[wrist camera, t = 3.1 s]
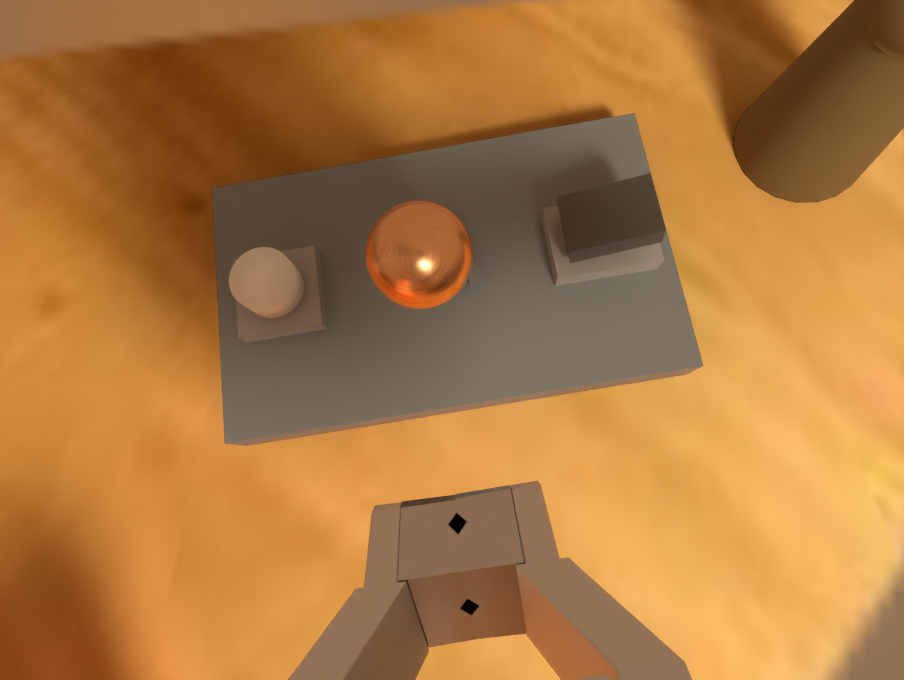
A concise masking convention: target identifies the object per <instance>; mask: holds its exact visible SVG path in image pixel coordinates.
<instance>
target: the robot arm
mask: <svg viewBox="0 0 904 680" xmlns="http://www.w3.org/2000/svg"><path fill="white" fill-rule="evenodd" d="M526 633H527V636H528V638H529V639H530V640H531V641H532V643H533V644H534V645H535V647H536V648H537V649H538V650H539V652H540V653H541V654H542V656H543V657H544V658H545V659H546V661H547V662H548V663H549V664H550V666H551V667H552V668H553V670H554V671H555V672H556V673H557V675H558V676H559V677H560V678H561V680H692V678H691V676H690V674H689V671H688V669H687V666H686V664H685V662H684V661H683V660H682V659H681V658H680V657H679V656H678V655H677V654H675V653H674V652H673V651H672V650H671V649H670V648H669V647H668V646H667V645H665V644H664V643H663V642H662V641H661V640H660V639H659V638H658V637H656V636H655V635H654V634H653V633H652V632H651V631H650V630H649V629H648V628H646V627H645V626H644V625H643V624H642V623H641V622H640V621H639V620H638V619H636V618H635V617H634V616H633V615H632V614H631V613H630V612H629V611H627V610H626V609H625V608H624V607H623V606H622V605H621V604H620V603H619V602H617V601H616V600H615V599H614V598H613V597H612V596H611V595H610V594H609V593H607V592H606V591H605V590H604V589H603V588H602V587H601V586H600V585H598V584H597V583H596V582H595V581H594V580H593V579H592V578H591V577H590V576H588V575H587V574H586V573H585V572H584V571H583V570H582V569H581V568H580V567H578V566H577V565H576V564H575V563H574V562H573V561H572V560H571V559H569V558H559V554H558V551H557V547H556V543H555V539H554V535H553V531H552V527H551V523H550V519H549V516H548V512H547V508H546V504H545V500H544V496H543V492H542V488H541V485H540V483H539V482H538V481H534V482H528V483H521V484H515V485H511V488H510V485H508V486H502V487H496V488H490V489H484V490H478V491H472V492H466V493H460V494H456V495H450V496H442V497H435V498H427V499H419V500H411V501H403V502H399V503H391V504H384V505H376V506H375V507H374V509H373V511H372V514H371V524H370V534H369V543H368V553H367V563H366V572H365V582H364V587H363V588H357V589H355V590H354V592H353V593H352V594H351V596H350V597H349V598H348V600H347V601H346V602H345V604H344V605H343V606H342V608H341V609H340V610H339V612H338V613H337V615H336V616H335V617H334V619H333V620H332V621H331V623H330V624H329V625H328V627H327V628H326V629H325V631H324V632H323V633H322V635H321V636H320V637H319V639H318V640H317V642H316V643H315V644H314V646H313V647H312V648H311V650H310V651H309V652H308V654H307V655H306V656H305V658H304V659H303V660H302V662H301V663H300V665H299V666H298V667H297V669H296V670H295V671H294V673H293V674H292V675H291V677H290V678H289V679H288V680H415V679H416V677H417V675H418V673H419V671H420V669H421V667H422V664H423V662H424V660H425V658H426V656H427V654H428V652H429V649H428V647H434V646H439V645H445V644H451V643H457V642H463V641H469V640H474V639H482V638H491V637H500V636H508V635H517V634H526Z"/></svg>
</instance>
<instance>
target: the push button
mask: <svg viewBox="0 0 904 680" xmlns="http://www.w3.org/2000/svg"><path fill="white" fill-rule="evenodd" d="M229 287H230V291H231V293H232V295H233V297H234V298H235V299H236V300H237V301H238V302H239V303H240V304H242V305H243V306H245V307H246V308H248V309H249V310H251V311H252V312H254V313H255V314H257V315H259V316H261V317H264V318H278V317H282V316H284V315H286V314H288V313H290V312H291V311H292V310H294V309H295V308H296V306H297V305H298V304H299V302H300V301H301V299H302V296H303V293H304V279H303V276H302V274H301V272H300V271H299V270H298V269H297V267H296V266H295V265H294V264H293V263H292V262H291V261H290V260H289V259H288V258H287V257H286V256H285V255H284V254H283V253H282V252H280V251H279V250H276V249H274V248H270V247H258V248H254V249H251V250H249V251H247V252H246V253H244V254H243V255H241V256H240V257H239V258H238V259H237V261H236V262H235V263H234V265H233V267H232V269H231V271H230V275H229Z"/></svg>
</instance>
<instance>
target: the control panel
mask: <svg viewBox="0 0 904 680" xmlns="http://www.w3.org/2000/svg"><path fill="white" fill-rule="evenodd" d="M649 173H651V172H650V169H649V165H648V161H647V158H646V154H645V150H644V147H643V143H642V139H641V136H640V132H639V128H638V125H637V121H636V117H635V114H634V113H632V114H626V115H621V116H615V117H610V118H604V119H598V120H593V121H587V122H582V123H576V124H570V125H565V126H559V127H553V128H548V129H542V130H537V131H531V132H525V133H520V134H514V135H508V136H503V137H497V138H492V139H486V140H480V141H475V142H469V143H463V144H458V145H452V146H447V147H441V148H435V149H430V150H424V151H418V152H413V153H407V154H402V155H396V156H390V157H385V158H379V159H373V160H368V161H362V162H357V163H351V164H345V165H340V166H334V167H328V168H323V169H317V170H312V171H306V172H300V173H295V174H289V175H283V176H278V177H272V178H267V179H261V180H255V181H250V182H244V183H238V184H233V185H227V186H222V187H216V188H212V196H213V216H214V236H215V256H216V276H217V297H218V317H219V337H220V357H221V377H222V398H223V418H224V438H225V444H234V445H243V446H247V445H254V444H260V443H266V442H272V441H278V440H284V439H291V438H297V437H303V436H309V435H315V434H321V433H328V432H334V431H340V430H346V429H352V428H358V427H365V426H371V425H377V424H383V423H389V422H395V421H402V420H408V419H414V418H420V417H426V416H432V415H438V414H445V413H451V412H457V411H463V410H469V409H475V408H482V407H488V406H494V405H500V404H506V403H512V402H519V401H525V400H531V399H537V398H543V397H549V396H556V395H562V394H568V393H574V392H580V391H586V390H593V389H599V388H605V387H611V386H617V385H623V384H629V383H636V382H642V381H648V380H654V379H660V378H666V377H673V376H679V375H685V374H688V373H690V372H692V371H694V370H696V369H698V368H700V367H702V366H703V363H702V359H701V355H700V352H699V348H698V344H697V341H696V337H695V333H694V330H693V326H692V322H691V319H690V315H689V311H688V308H687V304H686V300H685V297H684V293H683V289H682V286H681V282H680V278H679V275H678V271H677V267H676V264H675V260H674V256H673V253H672V249H671V246H670V242H669V238H668V235H667V231H666V232H665V235H664V237H663V240H662V242H660V243H656V244H652V245H647V246H643V247H639V248H634V249H630V250H626V251H621V252H617V253H613V254H608V255H604V256H600V257H595V258H591V259H586V260H582V261H578V262H573V263H570V261H569V256H568V252H567V247H566V243H565V238H564V234H563V229H562V225H561V220H560V216H559V211H558V204H557V197H559V196H563V195H566V194H570V193H574V192H578V191H582V190H586V189H590V188H594V187H598V186H602V185H606V184H609V183H613V182H617V181H621V180H625V179H629V178H633V177H637V176H641V175H645V174H649ZM651 177H652V176H651ZM653 184H654V183H653ZM654 188H655V187H654ZM656 195H657V194H656ZM657 199H658V198H657ZM409 201H428V202H433V203H436V204H439V205H441V206H443V207H445V208H447V209H448V210H450V211H451V212H452V213H454V214H455V215H456V216H457V217H458V218H459V219H460V220H461V222H462V223H463V224H464V226H465V227H466V229H467V231H468V233H469V236H470V239H471V242H472V247H473V264H472V269H471V272H470V275H469V278H468V280H467V282H466V283H465V285H464V287H463V288H462V289H461V290H460V292H459V293H458V294H457V295H456V296H454V297H453V298H452V299H451V300H449V301H448V302H446V303H444V304H442V305H439V306H437V307H433V308H429V309H411V308H406V307H403V306H400V305H398V304H395V303H394V302H392V301H390V300H389V299H388V298H386V297H385V296H384V295H383V294H382V293H381V292H380V291H379V290H378V289H377V287H376V286H375V285H374V283H373V281H372V279H371V277H370V275H369V272H368V269H367V265H366V244H367V240H368V237H369V234H370V232H371V230H372V228H373V226H374V225H375V223H376V222H377V221H378V219H379V218H380V217H381V216H382V215H383V214H384V213H385V212H387V211H388V210H389V209H391V208H393V207H395V206H397V205H399V204H402V203H405V202H409ZM659 206H660V205H659ZM660 210H661V209H660ZM662 217H663V216H662ZM663 221H664V220H663ZM665 228H666V227H665ZM258 247H270V248H274V249H276V250H279V251H280V252H282V253H283V254H284V255H285V256H286V257H287V258H288V259H289V260H290V261H291V262H292V263H293V264H294V265H295V266H296V267H297V269H298V270H299V271H300V272H301V274H302V276H303V279H304V293H303V296H302V299H301V301H300V302H299V304H298V305H297V306H296V308H295V309H294V310H292V311H291V312H290V313H288V314H286V315H284V316H282V317H278V318H264V317H261V316H259V315H257V314H255V313H254V312H252V311H251V310H249V309H248V308H246V307H245V306H243V305H242V304H240V303H239V302H238V301H237V300H236V299H235V298H234V297H233V295H232V293H231V291H230V287H229V275H230V271H231V269H232V267H233V265H234V263H235V262H236V261H237V259H238V258H239V257H240V256H241V255H243V254H244V253H246V252H247V251H249V250H251V249H254V248H258Z"/></svg>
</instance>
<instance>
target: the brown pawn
mask: <svg viewBox="0 0 904 680" xmlns="http://www.w3.org/2000/svg"><path fill="white" fill-rule="evenodd" d="M903 128H904V0H854V1H853V2H852V3H851V4H850V5H849V6H848V7H847V8H846V9H845V10H844V11H843V12H842V14H841V15H840V16H839V17H838V18H837V19H836V20H835V21H834V22H833V23H832V24H831V25H830V26H829V27H828V28H827V29H826V30H825V31H824V32H823V33H822V34H821V35H820V36H819V37H818V38H817V39H816V40H815V41H814V42H813V43H812V44H811V45H810V46H809V47H808V48H807V49H806V50H805V51H804V52H803V53H802V54H801V55H800V56H799V57H798V58H797V59H796V60H795V61H794V62H793V63H792V64H791V65H790V66H789V67H788V68H787V69H786V70H785V71H784V72H783V73H782V74H781V75H780V76H779V77H778V78H777V79H776V80H775V81H774V82H773V83H772V85H771V86H770V87H769V88H768V89H767V90H766V91H765V92H764V93H763V94H762V95H761V96H760V97H759V98H758V99H757V100H756V101H755V102H754V103H753V104H752V105H751V106H750V107H749V108H748V109H747V110H746V112H745V113H744V114H743V116H742V117H741V119H740V120H739V121H738V123H737V127H736V131H735V135H734V138H733V140H734V149H735V157H736V159H737V161H738V163H739V165H740V167H741V169H742V171H743V173H744V174H745V175H746V176H747V177H748V178H749V179H750V180H751V181H752V182H753V183H754V184H755V185H756V186H757V187H758V188H760V189H762V190H764V191H765V192H767V193H769V194H771V195H772V196H774V197H776V198H780V199H784V200H788V201H792V202H796V203H802V202H820V201H823V200H826V199H829V198H832V197H836V196H837V195H839V194H840V193H842V192H843V191H844V190H846V189H847V188H848V187H850V186H851V185H852V184H853V183H854V182H855V181H856V180H857V179H858V178H859V176H860V175H861V174H862V173H863V172H864V171H865V170H866V169H867V168H868V167H869V165H870V164H871V163H872V162H873V161H874V160H875V159H876V158H877V157H878V155H879V154H880V153H881V152H882V151H883V150H884V149H885V148H886V147H887V145H888V144H889V143H890V142H891V141H892V140H893V139H894V138H895V137H896V136H897V134H898V133H899V132H900V131H901V130H902V129H903Z"/></svg>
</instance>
